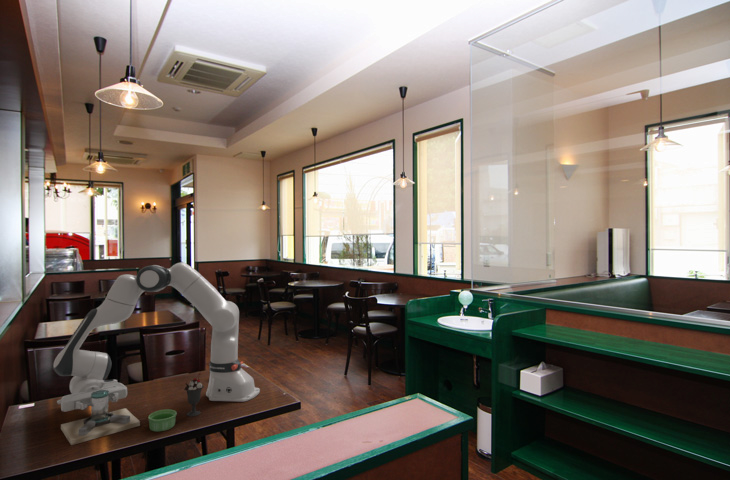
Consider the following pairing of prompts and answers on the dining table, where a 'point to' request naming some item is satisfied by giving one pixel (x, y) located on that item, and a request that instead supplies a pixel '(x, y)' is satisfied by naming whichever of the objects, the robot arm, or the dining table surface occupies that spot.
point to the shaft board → (99, 426)
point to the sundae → (194, 395)
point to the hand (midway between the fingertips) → (100, 403)
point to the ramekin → (162, 420)
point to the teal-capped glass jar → (99, 406)
